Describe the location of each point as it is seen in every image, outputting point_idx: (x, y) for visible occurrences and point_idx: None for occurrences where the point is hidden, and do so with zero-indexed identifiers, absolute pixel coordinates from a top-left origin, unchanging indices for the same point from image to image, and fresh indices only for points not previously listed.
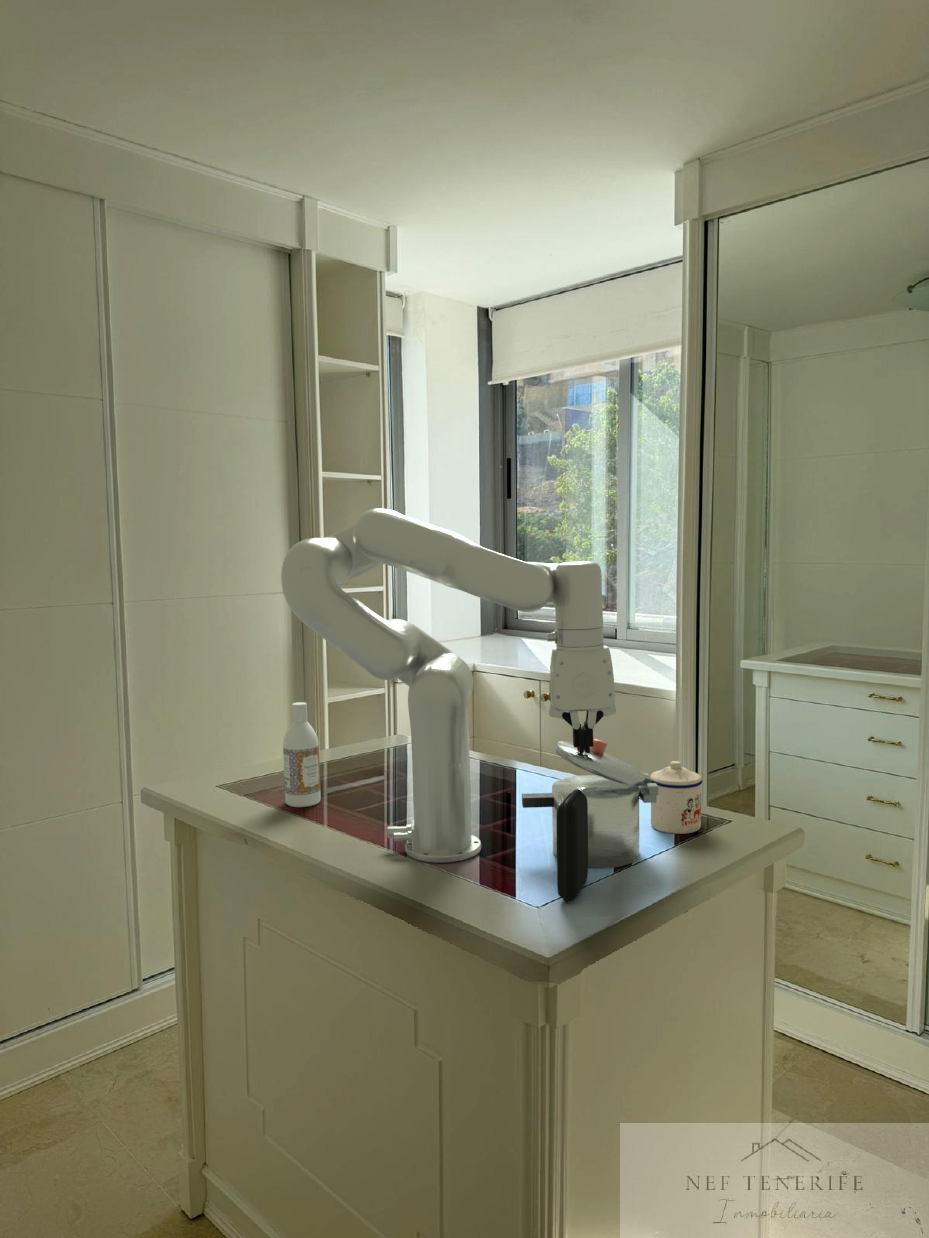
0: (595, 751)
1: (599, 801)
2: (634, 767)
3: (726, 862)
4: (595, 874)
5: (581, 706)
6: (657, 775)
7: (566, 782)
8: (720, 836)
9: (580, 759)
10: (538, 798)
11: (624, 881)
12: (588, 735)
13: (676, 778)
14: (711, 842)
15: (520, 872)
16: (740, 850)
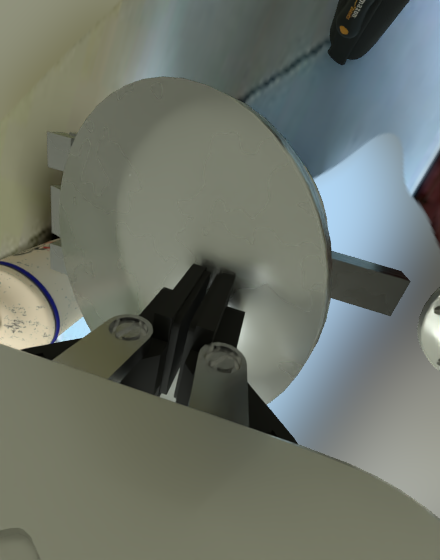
0: None
1: None
2: (69, 272)
3: (42, 88)
4: (283, 101)
5: (140, 425)
6: (37, 321)
7: None
8: (24, 210)
9: (287, 156)
10: (365, 267)
11: (246, 42)
12: (173, 297)
13: (6, 286)
14: (42, 189)
15: (421, 160)
16: (9, 138)
